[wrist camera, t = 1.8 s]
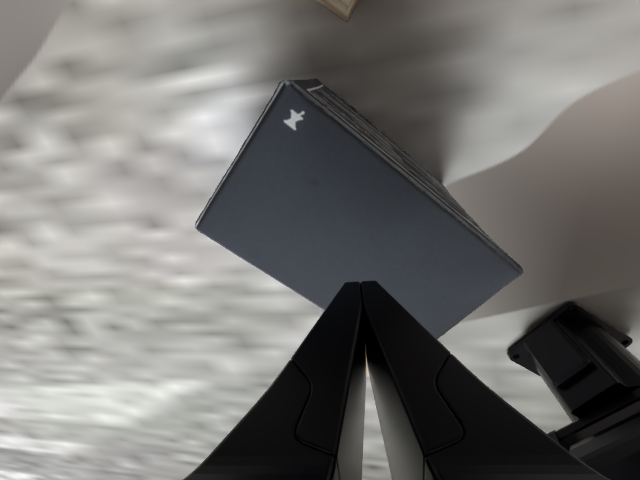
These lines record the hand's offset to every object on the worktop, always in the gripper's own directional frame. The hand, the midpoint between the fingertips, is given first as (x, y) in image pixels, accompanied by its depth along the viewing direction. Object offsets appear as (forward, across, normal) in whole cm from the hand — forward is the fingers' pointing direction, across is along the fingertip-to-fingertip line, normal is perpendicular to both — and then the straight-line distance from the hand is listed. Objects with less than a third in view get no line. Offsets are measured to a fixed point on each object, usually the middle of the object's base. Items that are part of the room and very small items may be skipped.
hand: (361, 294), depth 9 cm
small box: (+13, 0, 0) cm, 13 cm away
